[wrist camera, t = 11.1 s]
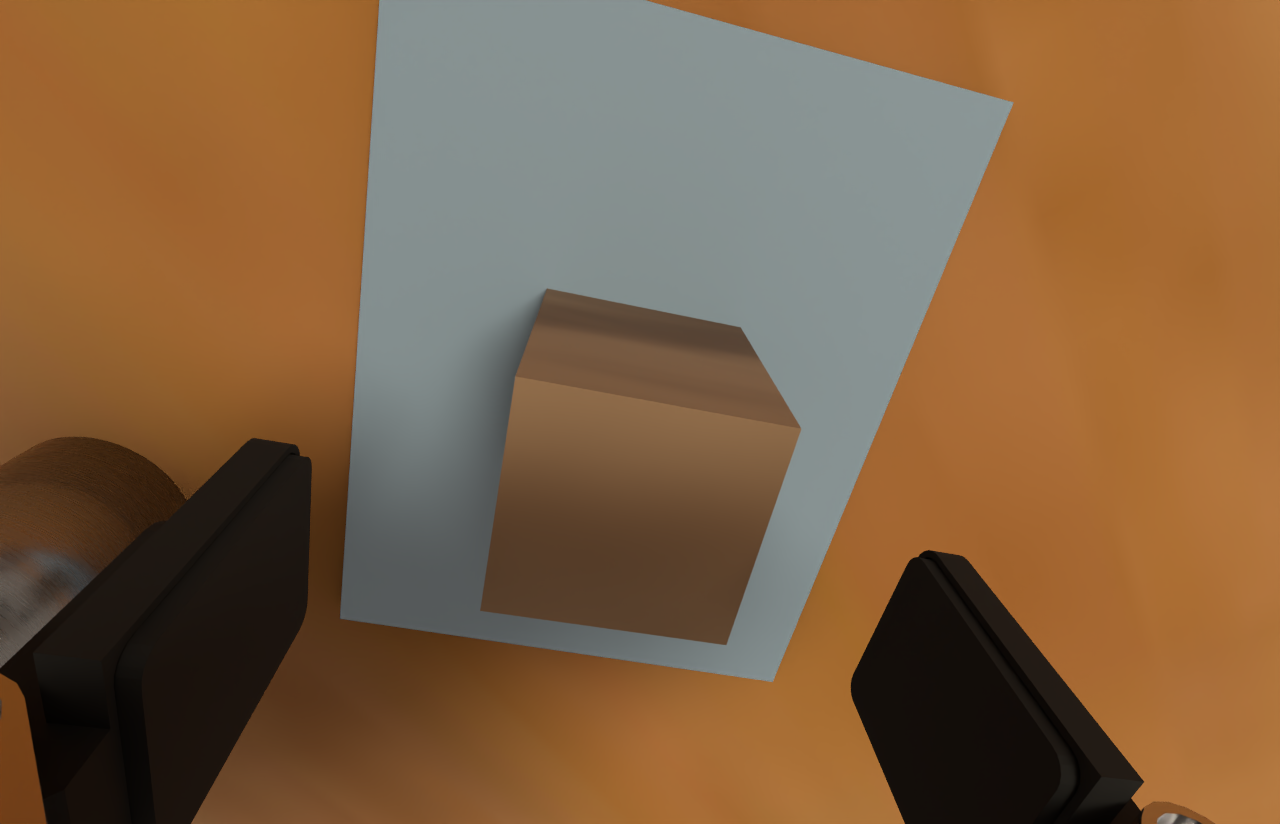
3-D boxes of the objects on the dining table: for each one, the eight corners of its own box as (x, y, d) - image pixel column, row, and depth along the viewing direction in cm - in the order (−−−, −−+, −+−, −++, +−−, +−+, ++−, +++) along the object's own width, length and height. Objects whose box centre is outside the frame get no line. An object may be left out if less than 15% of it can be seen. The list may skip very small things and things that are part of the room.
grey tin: (-5, 421, 18) (-343, 591, 12) (190, 455, 19) (-28, 633, 12) (20, 568, 20) (-256, 783, 14) (197, 594, 21) (12, 810, 14)
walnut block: (547, 288, 16) (515, 376, 11) (740, 327, 17) (801, 429, 12) (518, 463, 18) (480, 610, 13) (693, 492, 19) (726, 645, 14)
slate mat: (393, -66, 14) (384, -72, 13) (999, 102, 16) (1013, 102, 15) (346, 605, 21) (339, 618, 20) (768, 668, 23) (772, 681, 22)
